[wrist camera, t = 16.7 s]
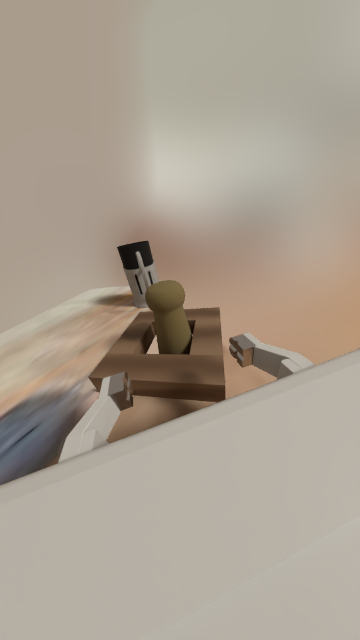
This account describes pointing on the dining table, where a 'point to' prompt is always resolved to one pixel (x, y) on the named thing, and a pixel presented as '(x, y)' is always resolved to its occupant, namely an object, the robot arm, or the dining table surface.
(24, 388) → the dining table surface
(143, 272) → the glass holder
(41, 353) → the dining table surface
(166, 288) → the cork
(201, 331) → the walnut collar
